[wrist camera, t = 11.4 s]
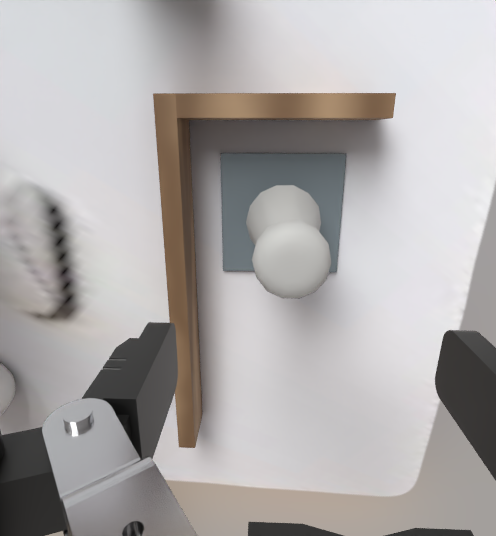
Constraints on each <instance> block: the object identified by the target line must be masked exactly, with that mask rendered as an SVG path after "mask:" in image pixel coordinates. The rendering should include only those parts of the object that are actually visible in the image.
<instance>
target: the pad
mask: <svg viewBox="0 0 496 536" xmlns="http://www.w3.org/2000/svg"><path fill="white" fill-rule="evenodd" d="M345 164H346V154H310V153H221V188H222V238H223V271H255V270H254V266H253V262H252V257H253V253H254V249H255V244H254V243H253V242H252V240H251V239H250V237H249V233H248V228H247V224H246V220H247V216H248V212H249V208H250V205H251V204H252V203H253V201H254V200H255V199H256V198H257V196H258V195H259V194H260V193H261V192H263V191H265V190H267V189H269V188H272V187H274V186H276V185H294V186H296V187H298V188H300V189H302V190H303V191H305V192H307V193H309V194H310V196H311V197H312V198H313V200H314V201H315V202H316V204H317V205H318V206H319V212H320V219H321V226H320V230H319V232H320V233H321V235H322V236H323V237H324V239H325V240H326V241H327V243H328V244H329V250H330V257H331V266H330V269H329V272H336V271H337V259H338V247H339V235H340V223H341V211H342V200H343V188H344V176H345Z"/></svg>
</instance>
